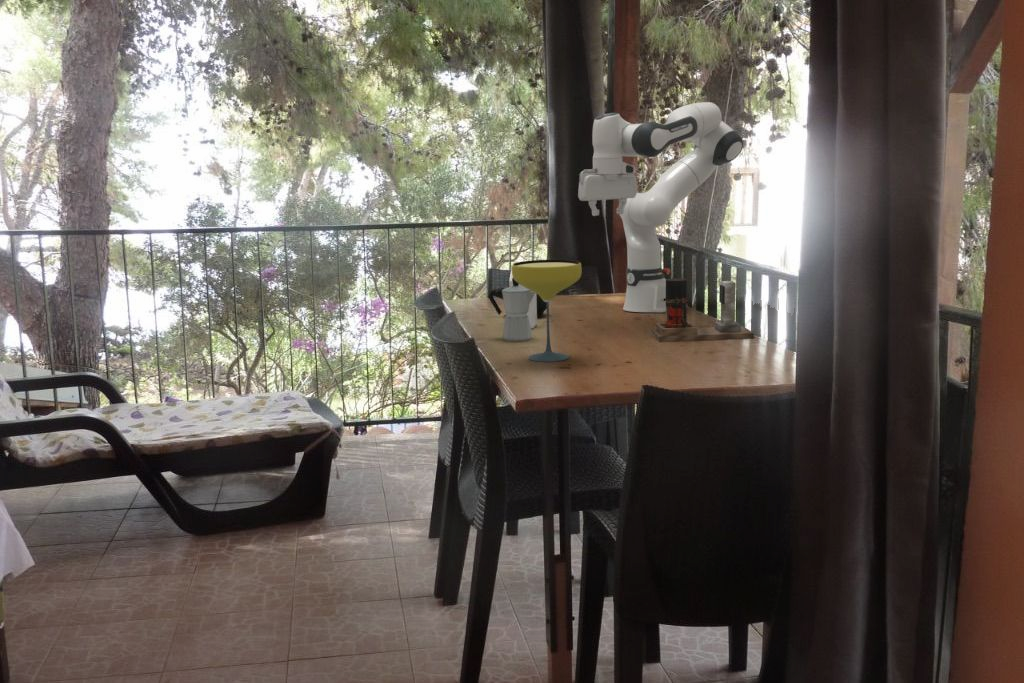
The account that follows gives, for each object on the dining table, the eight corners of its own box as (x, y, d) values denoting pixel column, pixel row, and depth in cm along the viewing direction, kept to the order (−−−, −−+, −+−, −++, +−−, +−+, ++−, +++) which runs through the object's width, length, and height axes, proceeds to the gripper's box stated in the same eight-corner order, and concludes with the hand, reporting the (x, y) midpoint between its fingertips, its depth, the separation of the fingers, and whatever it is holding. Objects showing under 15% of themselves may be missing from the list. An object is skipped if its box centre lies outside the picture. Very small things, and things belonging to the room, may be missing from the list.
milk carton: (533, 329, 297) (531, 267, 294) (510, 328, 299) (508, 267, 295) (537, 325, 304) (535, 264, 301) (515, 324, 306) (513, 265, 302)
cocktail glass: (587, 363, 247) (586, 265, 242) (517, 366, 245) (514, 268, 241) (577, 349, 264) (576, 258, 260) (511, 352, 263) (509, 260, 258)
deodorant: (661, 331, 278) (661, 279, 276) (678, 329, 281) (679, 277, 278) (673, 334, 273) (673, 281, 270) (690, 332, 276) (691, 279, 273)
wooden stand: (658, 341, 272) (658, 287, 269) (651, 334, 283) (651, 282, 280) (753, 338, 273) (754, 283, 270) (743, 331, 284) (743, 278, 281)
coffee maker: (542, 336, 285) (541, 275, 281) (533, 342, 277) (531, 279, 273) (495, 334, 290) (493, 275, 286) (484, 340, 281) (482, 279, 278)
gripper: (586, 169, 282) (587, 217, 285) (640, 167, 293) (640, 213, 296) (573, 169, 287) (574, 216, 290) (626, 167, 298) (626, 212, 301)
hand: (607, 214), depth 293 cm, fingers open, 8 cm apart
